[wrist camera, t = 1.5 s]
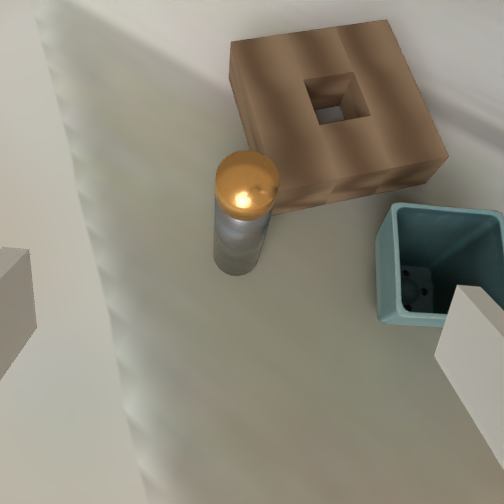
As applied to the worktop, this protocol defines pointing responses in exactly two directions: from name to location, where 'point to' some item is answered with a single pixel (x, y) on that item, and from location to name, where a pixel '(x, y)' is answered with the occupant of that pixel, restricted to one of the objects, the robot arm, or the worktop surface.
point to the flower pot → (435, 260)
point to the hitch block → (329, 95)
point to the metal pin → (243, 209)
